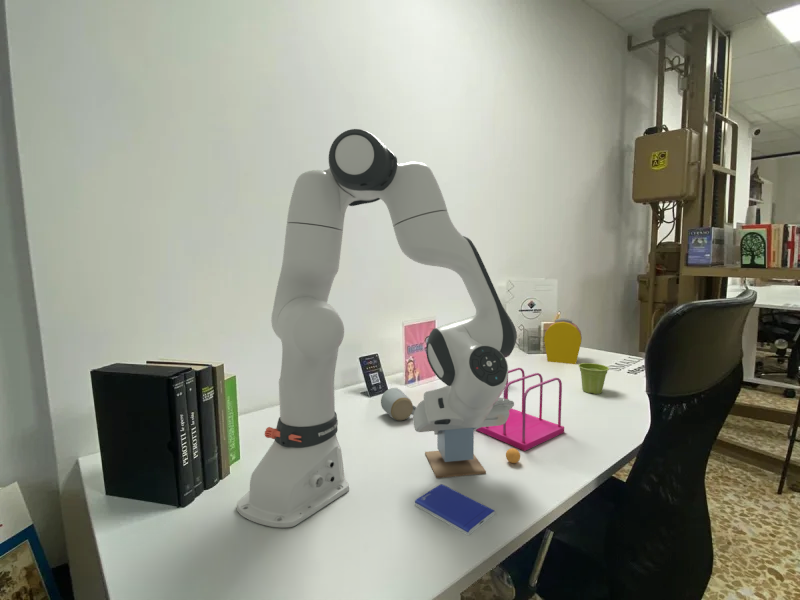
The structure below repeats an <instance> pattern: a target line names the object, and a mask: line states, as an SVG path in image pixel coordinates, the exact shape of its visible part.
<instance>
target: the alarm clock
mask: <svg viewBox="0 0 800 600" xmlns="http://www.w3.org/2000/svg"><path fill="white" fill-rule="evenodd" d="M543 341H544V347H545V354H546V360H547V361H546V362H549V363H557V364H558V363H560V364H569V365H577V361H578V357H579V354H580V353H579V352H580V348H581V345H582V332H581V330H580V328H579V327H578V325H577V324H575V323H574V322H573V320H571V319H569V318H557V319H555V321H554V322H552V323H550V325H549V326H548V327H547V329H546V330H545V332H544V337H543Z"/></svg>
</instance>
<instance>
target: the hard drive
mask: <svg viewBox="0 0 800 600" xmlns="http://www.w3.org/2000/svg"><path fill="white" fill-rule="evenodd" d="M414 506H415V507H417V508H419V509H420V510H422V511H424V512H426V513H428V514H429V515H431V516H433V517H435V518H437V519H438V520H440V521H442V522H444V523H445V524H448V525H449V526H451V527H453V528H454V529H456V530H458V531H460V532H461V533H463V534H465V535H466V536H470V535H471V534H472V533H473V532H474V531H476V530H477V529H478V528H480V527H481V526H482V525H483V524H484V523H486V522H487V521H488V520H490V519H491V517H493V516H494V515H495V512H496V511H495V509H492V508H490V507H488V506H486V505H484V504H483V503H481V502H478V501H477V500H474V499H473V498H470V497H468V496H466V495H464V494H463V493H460V492H458V491H456V490H454V489H452V488H450V487H448V486H447V485H445V484H442V483H440V484H438V485H437V486H436V487H434V488H432V489H431V490H429V491H427V492H426V493H424V494H423V495H421V496H419V497H417V498H416V499H415V500H414Z"/></svg>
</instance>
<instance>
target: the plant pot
mask: <svg viewBox="0 0 800 600" xmlns="http://www.w3.org/2000/svg"><path fill="white" fill-rule="evenodd" d="M578 368H579V370H580V375H581V376H580V377H581V387H582V388H581V389H582V391H583V392H585V393H587V394H590V393H591V394H595V395H599V394H602V393H603V390H604V385H605V380H606V376H607V374H608V371H609V370H610V367H608V365H607V366H606V365H604V364H599V363H593V362H592V363H590V362H582V363H579V364H578Z"/></svg>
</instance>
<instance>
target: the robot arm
mask: <svg viewBox="0 0 800 600" xmlns="http://www.w3.org/2000/svg"><path fill="white" fill-rule="evenodd" d="M328 167H329V168H328V169H325V170H320V169H316V170H315V169H313V170H308V171H304V172H302V173H301V174H300V175H299V176H297V179H296V180H295V184H294V187H293V190H292V193H291V197H290V202H289V207H288V211H287V212H288V213H287V219H286V228H285V238H284V245H283V246H284V247H283V248H284V249H283V257H282V265H281V269H280V272H279V278H278V281H277V286H276V291H275V296H274V301H273V302H274V303H273V307H272V313H271V320H270V321H271V327H272V330H273V332H274V335H275V336H276V337H278V338H279V339H280V340H281V341H280V342H281V347H282V348H281V349H282V350H281V351H282V354H281V366H280V376H279V380H278V397H279V398H278V399H279V417H278V420H277V422H276V423H277V424H276V427H275V428H273V427H270V426H268V427H266V428H265V431H264V434H263V435H264V437H265V438H266V439H273V440H274V441H273V442H272V444H271V445H270V447H269V448H268V450H267V451H266V453H265V454H264V455H263V457H262V458H261V460H260V461H259V463H258V464H257V466H256V467H255V469H254V470H253V471H252V473H251V476H250V481H249V490H248V491H247V493H245V494H244V495H242V497H241V498H240V499H239V500H238V501H237V502H236V510H237V512H238V514H240V516H241V517H243V518H245V519H247V520H249V521H251V522H254V523H255V524H260V525H262V526H266V527H270V528H271V527H272V528H292V527H295V526H296V525H299V524H300V523H302V522H303V521H304V520H306V519H308V518H309V517H311V516H313V515H314V514H315V513H317V512H318V511H320V510H321V509H323V508H325V507H326V506H327V505H329V504H331V503H332V502H333V501H335V500H337V499H338V498H340V497H341V496H343V495H344V494H346V493H348V492H349V491H350V485H349V483H348V481H347V480H346V477H345V470H344V461H343V453H342V449H341V448H342V447H341V446H340V443H339V440H338V438H337V437H338V436H337V432H338V424H339V420H338V413H337V412H336V411H335V410H336V408H335V404H336V403H335V400H336V399H335V374H336V368H337V361H338V356H339V350H340V349H339V348H340V346H341V344H342V342H343V339H344V336H345V327H344V323H343V320H342V318H341V317H340V315H339V313H338V312H337V310H336V309H335V308H334V307H333V306H332V305H331V304H329V303H328V301H329V300H328V299H329V296H330V292H331V290H332V289H331V288H332V287H333V283H334V280H335V278H336V276H337V274H338V272H339V269H340V260H341V254H342V253H341V251H342V243H343V233H344V225H345V217H346V211H347V208H348V207H355V206H360V205H364V204H365V205H366V204H371V203H375V202H378V201H379V200H382V202H384V204H385V205H386V207H387V210H388V213H389V216H390V218H391V219H390V220H391V225H392V226H393V232H394V233H395V239H396V241H397V244H398V246H399V249H400V250H401V251H402V253H403V254H404V255H405V256H406V257H407V258H408V259H410V260H411V261H414V262H416V263H418V264H421V265H425V266H430V267H439V268H444V269H449V270H451V271H453V272H455V273H456V274H457V275H458V276H460V278H461V279H462V281H463V283H464V286H465V288H466V290H467V293H468V295H469V297H470V299H471V302H472V304H473V307H475V315H473V316H470V317H467V318H462V319H461V320H456V321H453V322H449V323H447V324H444V325H440V326H437V327H434V328H433V329H431V331H430V333H429V335H428V338H427V342H426V347H425V348H426V350H425V351H426V359H427V362H428V364H429V366H430V368H431V370H432V372H433V373H434V375H435V377H437V379H439V380H440V381H442V382H443V384H445V385H446V386H443V387H439V388H435V389H431V390H428V391H425V392H424V393H423V400H421V401H420V402H419V403H418V404H417V406H415V407H416V409H415V412H414V414H413V415H412V421H413V428H414V431H416V432H417V433H426V432H427V433H428V432H434V436H435V435H438V434H441V433H442V430H452V429H464V428H474V432H476V431H477V430H476V429H478V428H481V427H488V426H500V425H503V424H505V423H506V421H507V419H508V417H509V410H510V409H511V408H512V409H513V408H514V406H515V402H514V401H513V400H511V399H509V398H508V399H504V397H501V395H502V394H503V393H504V389H505V387H506V382H507V378H508V379H509V373H508V371H509V365H508V361H507V359H506V358H509V357H510V355H512V352H513V350H514V348H515V346H516V343H517V338H518V332H517V328H516V326H515V324H514V323H513V321H512V319H511V317H510V316H509V314H508V312H507V311H506V309H505V308H504V306H503V304H502V302H501V299H500V298H499V294H498V293H497V291H496V288H495V286H494V284H493V282H492V279H491V277H490V274H489V273H488V270H487V268H486V266H485V264H484V262H483V260H482V257H481V256H480V254H479V252H478V250H477V248H476V245H475V244H474V243H473V242H472V240H471V239H470V237H466V236H464V235H463V234H461V233H460V232H459V230H457V228H456V227H455V225H454V223H453V221H452V219H451V217H450V215H449V212H448V207H447V206H446V205H447V204H446V201H445V198H444V196H443V192H442V191H441V188H440V185H439V183H438V181H437V179H436V176H435V175H434V173H433V171H432V170H431V168H430V167H429V166H428V165H427V164H425V163H423V162H418V161H409V162H405V163H398V157H397V156H396V155H395V154H394V153H393V152H392V150H390V149H389V148H388V147H387V146H386V145H385V144H384V143H383V142H382V141H381V140H380V139H379V138H378V137H376V135H374V134H373V133H372V132H369V131H368V130H365V129H360V128H351V129H348V130H345V131H343V132H341V133H340V134H339V135H337V136H336V137H335V139H334V140H333V142H332V143H331V145H330V148H329V152H328Z"/></svg>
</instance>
